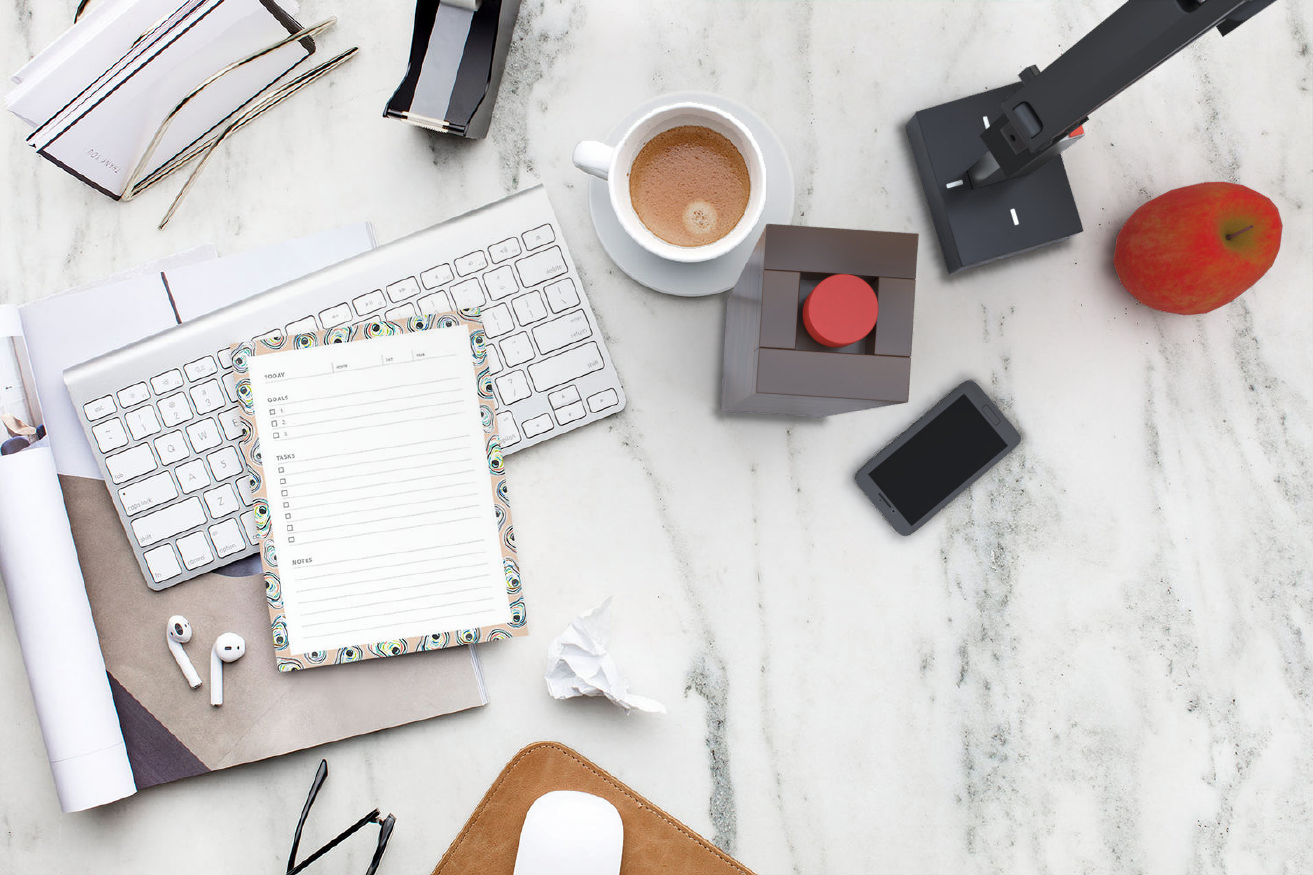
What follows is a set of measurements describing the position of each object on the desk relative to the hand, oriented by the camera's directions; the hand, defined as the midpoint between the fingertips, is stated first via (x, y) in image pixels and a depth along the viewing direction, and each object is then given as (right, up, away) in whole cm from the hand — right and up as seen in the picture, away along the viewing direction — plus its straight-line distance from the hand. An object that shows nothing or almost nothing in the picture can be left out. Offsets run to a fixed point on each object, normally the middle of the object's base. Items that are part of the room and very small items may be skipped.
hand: (1106, 83), depth 41 cm
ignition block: (-13, -12, +29) cm, 34 cm away
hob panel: (+6, +4, +29) cm, 30 cm away
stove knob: (+6, +4, +26) cm, 27 cm away
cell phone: (+1, -20, +29) cm, 35 cm away
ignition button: (-13, -11, +5) cm, 18 cm away
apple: (+22, -3, +29) cm, 36 cm away
